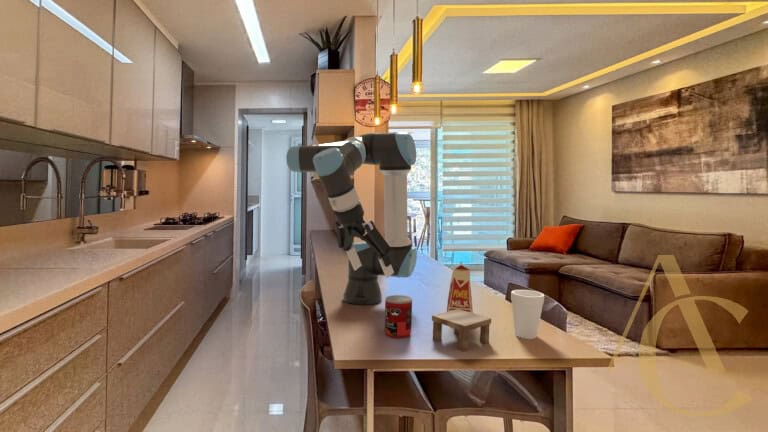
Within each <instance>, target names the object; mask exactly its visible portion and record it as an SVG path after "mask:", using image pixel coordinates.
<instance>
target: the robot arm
mask: <svg viewBox="0 0 768 432" xmlns="http://www.w3.org/2000/svg"><path fill="white" fill-rule="evenodd" d="M285 156H286V165H287V167H288V169H289V170H290V171H292V172H294V173H301V174H302V173H316V174H317V176H318V178H319V180H320V183H321V185H322V187H323V189H324V191H325V194H326V196H327V198H328V200H329V205H330V207H331V209H332V210H333V211H334V212H333V213H334V216H335V218H336V221H335V222H334V223H335V228H336V231H337V233H336V234H337V245H338V248H339V249H343V251H344V252H345V254H346V255H347V258H348V266H347V267H348V271H347V272H348V274H347V278H348V279H347V283H346V285H345V289H344V292H343V298H342V299H343V301H344V302H345V303H348V304H353V305H361V306H362V305H375V304H379V303H381V302H382V299H383V298H382V296H383V294H382V292H381V287H380V285H379V276H381V277H382V276H384V277H385V278H386V279H388V278H390V277H391V278H393V277H394V278H399V279H400V278H410V277H411V275H413V273H414V271H415V269H416V268H415V267H416V264H417V258H418V249H417V248H416V247H415V246H413V241H412V240H411V239H410V238H409V237H408V235H409V233H408V232H409V231H408V228H409V227H408V226H409V225H408V224H409V223H408V221H409V220H408V174H409V173H410V172H411V171H412V166H413V165H415V164H416V163H417V149H416V143H415V140H414V138H413V136H412V135H411V134H410V133H408V132H403V131H402V132H400V131H395V132H369V133H364V134H360V135H359V134H358V135H354V136H350V137H347V138H346V139H344V140H341V141H335V142H326V143H318V144H312V145H311V144H310V145H294V146H291V147H289V148H288V150H287V153H286V155H285ZM362 165H370V166H371V165H372V166H375V165H376V166H379V167H378V169H379V170H378V171H379V172H381V174H382V175H383V202H384V203H383V204H384V237H383V236H382V234H381V232H380V231H379V230H378V229H377V226H376V225H375V223H374V221H372V220H370V221H368V222H366V221H365V220H364V215H365V211H364V208H363V205H362V203H361V202H360V201H359V200H360V198H359V195H358V193H357V190H356V187H355V185H354V183H353V181H352V178H351V176H352V175H353V174H354V173H355V172H356V171H357V170H358V169H359V168H361V167H362ZM354 238H359V239H360V240H361V241H359V242H358V241H357V242H353V241H354Z"/></svg>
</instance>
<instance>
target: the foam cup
mask: <svg viewBox="0 0 768 432" xmlns="http://www.w3.org/2000/svg"><path fill="white" fill-rule="evenodd" d="M510 300H511V308H512V317H513V318H512V321H513V330H514V336H515V337H517V336H518V337H517V338H520V337H521V338H520V339H524V338H525V340H534V338H535V339H537V337H538V336H537V335H538V332H539V327H540V322H541V315H542V310H543V306H544V304H545V294H544V293H542V292H540V291H536V290H530V289H529V290H528V289H513V290H512V291H511V293H510Z"/></svg>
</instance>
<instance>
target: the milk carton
mask: <svg viewBox="0 0 768 432" xmlns="http://www.w3.org/2000/svg"><path fill="white" fill-rule="evenodd" d="M462 264H463V261H460V262H459V265H458V266H457V267H455V268H454V269H453V270H452V274H451V278H450V279H451V280H450V284H449V291H448V298H447V305H446V312H448V311H452V310H456V309H460V310H464V311H467V312H471V313H474V311H473V310H474V309H473V300H472V299H473V297H472V285H471V270H470V269H469V268H467V267H466V266H464V265H462Z"/></svg>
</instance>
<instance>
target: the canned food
mask: <svg viewBox="0 0 768 432" xmlns="http://www.w3.org/2000/svg"><path fill="white" fill-rule="evenodd" d="M384 301H385V304H384V334H385V336H386V337H388V338H393V339H405V338H408V337H410V336H411V334H412V319H413V318H412V317H413V316H412V315H413V299H412V297H410V296H408V295H407V296H406V295H400V294H395V295H388V296H385V300H384Z"/></svg>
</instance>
